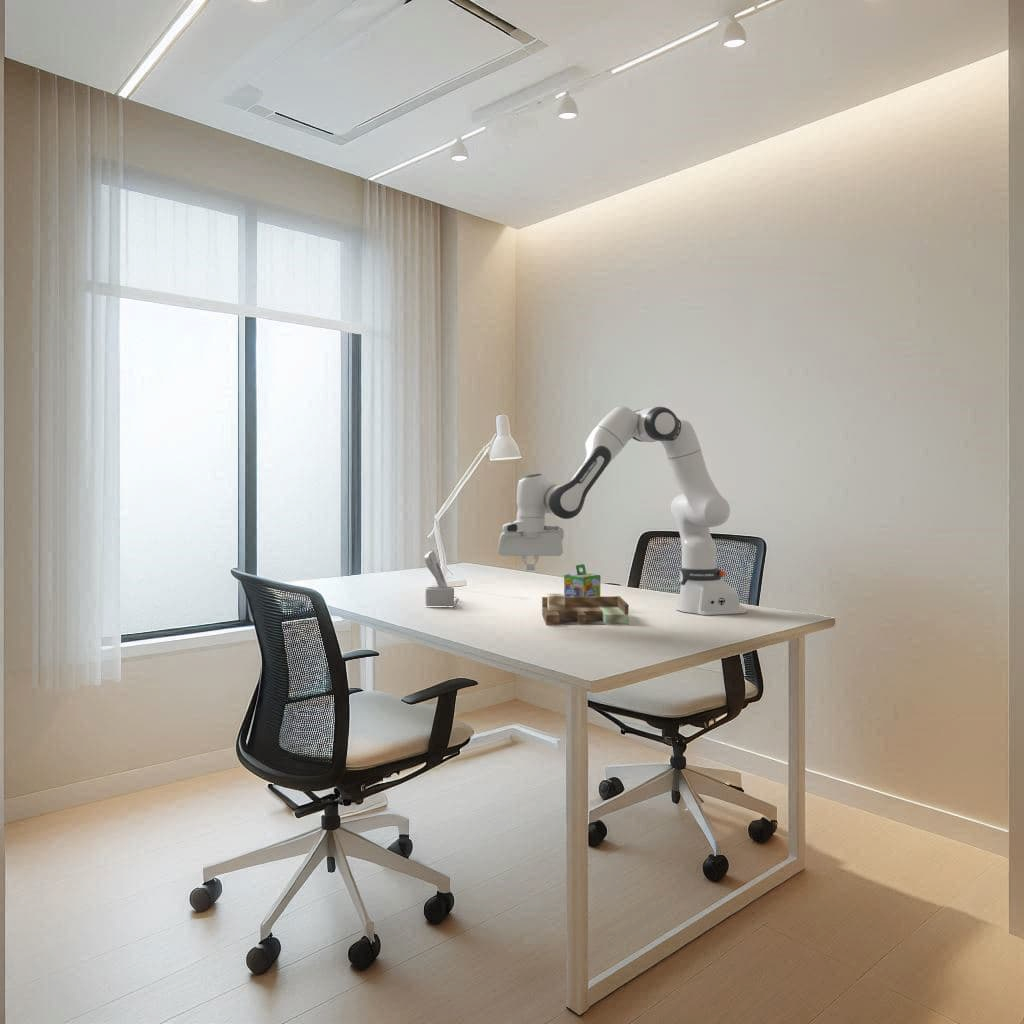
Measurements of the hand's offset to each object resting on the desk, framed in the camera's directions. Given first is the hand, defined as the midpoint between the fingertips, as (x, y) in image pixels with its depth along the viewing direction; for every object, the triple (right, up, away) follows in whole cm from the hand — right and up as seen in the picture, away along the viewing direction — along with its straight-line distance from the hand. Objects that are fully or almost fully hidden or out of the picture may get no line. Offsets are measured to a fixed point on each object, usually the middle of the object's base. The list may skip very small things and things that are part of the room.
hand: (530, 570), depth 242 cm
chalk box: (+18, -15, +18) cm, 30 cm away
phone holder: (-30, -14, +29) cm, 44 cm away
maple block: (+8, -12, +1) cm, 15 cm away
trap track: (+17, -16, -1) cm, 23 cm away
